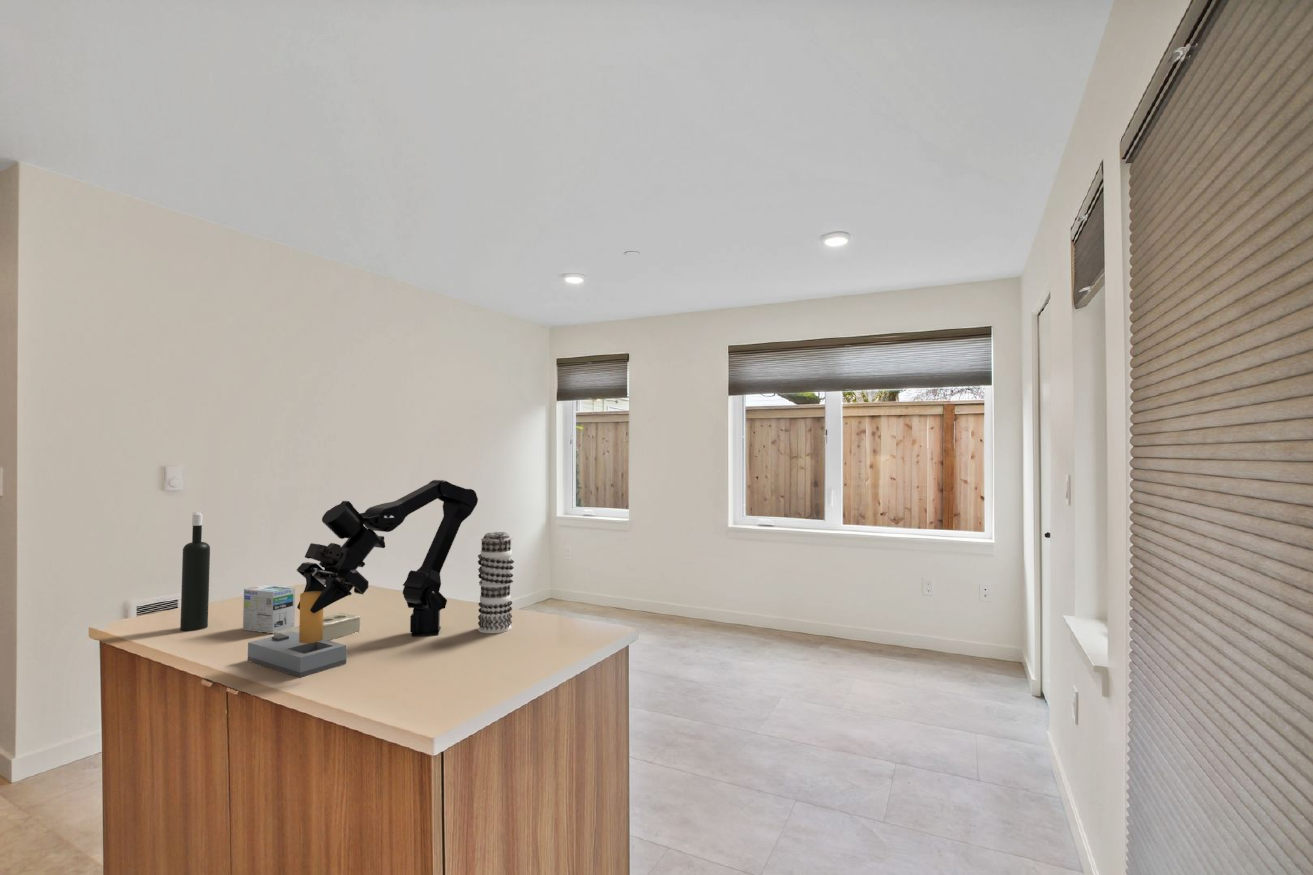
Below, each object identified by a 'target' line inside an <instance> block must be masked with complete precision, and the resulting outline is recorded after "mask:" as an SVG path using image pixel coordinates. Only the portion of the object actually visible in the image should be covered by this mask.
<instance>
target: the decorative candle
mask: <svg viewBox="0 0 1313 875" xmlns="http://www.w3.org/2000/svg"><path fill="white" fill-rule="evenodd" d="M480 540H481V549H480V554H478V555H477V557H478V559H479V560H477V563H478V565H480V567H479V568H478V569H477V570H478V573H479V574H477V576H478V579H480V580H479V582H478V585H479V586H480V595H479V602H478V603H477V604H478V607H480V608H478V610H477V611H478V613H479V615H478V616H477V617H478V620H479V621H478V623H477V624H478V626H479V627H478V628H477V629H478V632H480V633H483V634H502V633H506V632H508V631H510V630H512V625H511V624H512V623H513V621H512V617H513V615H512V613H511V612H512V610H513V607H512V606H511V605H512V604H513V602H512V595H511V585H512V584H513V582H514V580H513V579H512V578H513V576H514V574H513V573H512V572H511V571H512V570H513V569H514V566H513V564H514V563H515V560H513V559H511V556H512V554H513V551H512V549H511V547H512V540H513V538H512V537H511V536H510V535H509V534H508V533H507V532H504V531H499V532H498V531H492V532H491V531H490V532H486V533H485V534H484V535H483V538H480Z"/></svg>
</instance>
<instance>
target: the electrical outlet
mask: <svg viewBox="0 0 1313 875" xmlns="http://www.w3.org/2000/svg"><path fill="white" fill-rule="evenodd" d="M359 631H361V616H360V615H357V614H356V615H355V614H349V613H344V612H342V613H337V614H331V615H328V616H323V639H324V640H328V641H331V640H334V639H339V638H342V637H341V636H343V637H346V636H350V635H353V633H354V634H356V633H355V632H358V633H360V632H359ZM290 632H297V633H299V626H295V627H293V628H289V629H285V630H280V631H276V632H274V633H273V636H277V635H281V634H286V633H290ZM338 637H339V638H338Z"/></svg>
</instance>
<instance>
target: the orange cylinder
mask: <svg viewBox="0 0 1313 875" xmlns="http://www.w3.org/2000/svg"><path fill="white" fill-rule="evenodd" d="M303 592H304V591H303ZM303 592H301V593H299V602H300V610H299V642H300V643H314V642H318V641H321V640H322V639H323V617H324V608H323V609H321V610H319V611H318V612H316V613H312V612H311V611H310V609H311V608H312V606H313V604H314V603H315V601H316V600H317V599H318V597H319V596H320V594H321V593H322V591H310V592H304V593H303Z"/></svg>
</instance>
